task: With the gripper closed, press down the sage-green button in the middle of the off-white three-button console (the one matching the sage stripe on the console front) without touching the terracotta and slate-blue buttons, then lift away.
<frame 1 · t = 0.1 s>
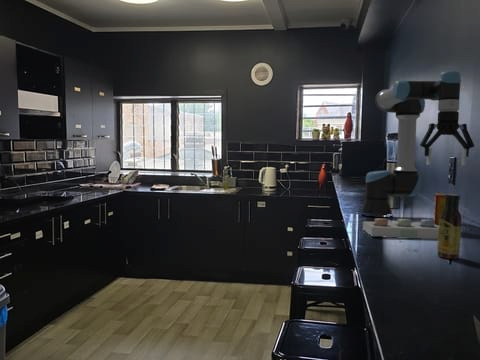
hand: (445, 165, 175), 28 cm above the countertop, fingers open, 13 cm apart
button console: (402, 235, 174), on the countertop
sauce bottle: (448, 258, 137), on the countertop
baking soda box: (442, 231, 184), on the countertop
sage button: (404, 223, 172), point 5 cm above the countertop, slide at 0.0 cm
slate button: (427, 223, 172), point 5 cm above the countertop, slide at 0.0 cm
terracotta button: (381, 222, 172), point 5 cm above the countertop, slide at 0.0 cm
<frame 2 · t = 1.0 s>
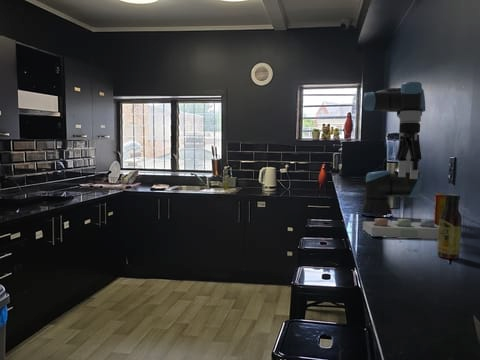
hand: (407, 178, 171), 23 cm above the countertop, fingers open, 12 cm apart
nothing on the countertop moved.
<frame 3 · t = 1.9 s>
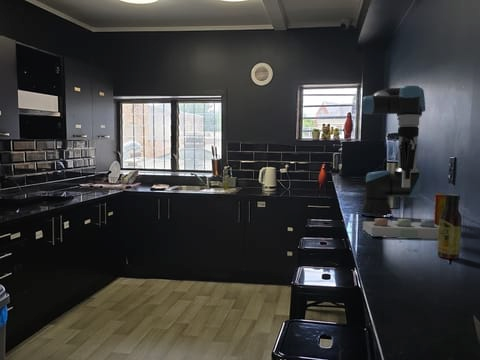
hand: (405, 187, 171), 19 cm above the countertop, fingers closed
nothing on the countertop moved.
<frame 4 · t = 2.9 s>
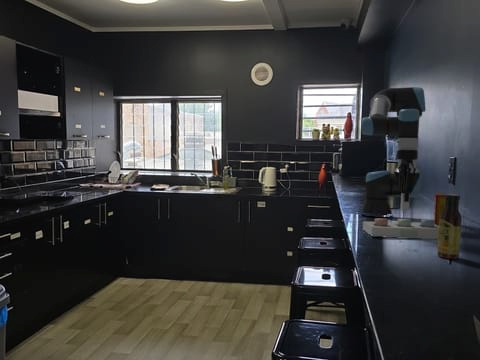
hand: (404, 209, 172), 10 cm above the countertop, fingers closed
nothing on the countertop moved.
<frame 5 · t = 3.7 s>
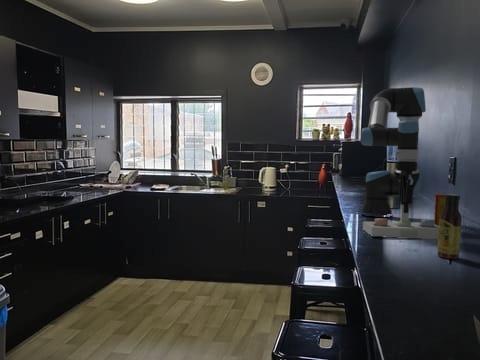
hand: (404, 221, 172), 6 cm above the countertop, fingers closed
sage button: (404, 225, 172), point 4 cm above the countertop, slide at 0.8 cm, touching gripper
everything else where it was.
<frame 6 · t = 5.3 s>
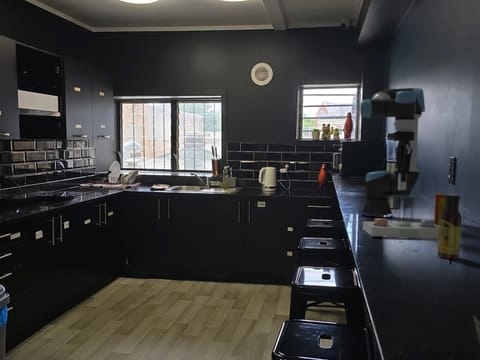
hand: (402, 189, 177), 18 cm above the countertop, fingers closed
sage button: (404, 226, 172), point 4 cm above the countertop, slide at 1.2 cm
everything else where it was.
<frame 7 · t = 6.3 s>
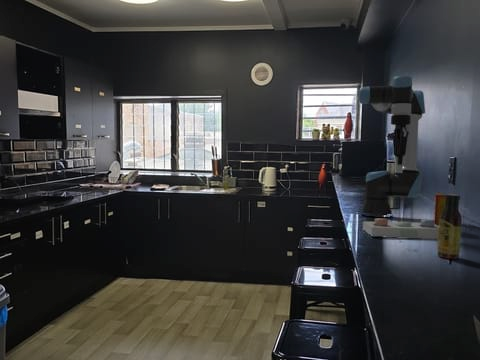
hand: (398, 172, 180), 24 cm above the countertop, fingers closed
nothing on the countertop moved.
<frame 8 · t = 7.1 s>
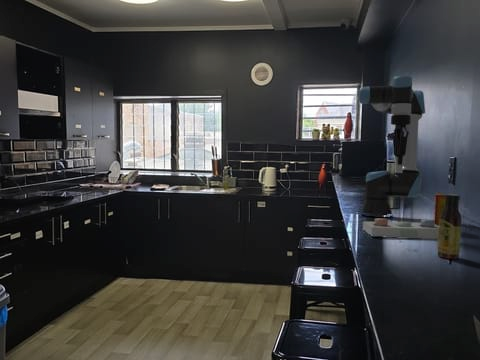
hand: (398, 172, 180), 24 cm above the countertop, fingers closed
nothing on the countertop moved.
at the end: sage button slide at 1.2 cm; terracotta button slide at 0.0 cm; slate button slide at 0.0 cm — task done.
